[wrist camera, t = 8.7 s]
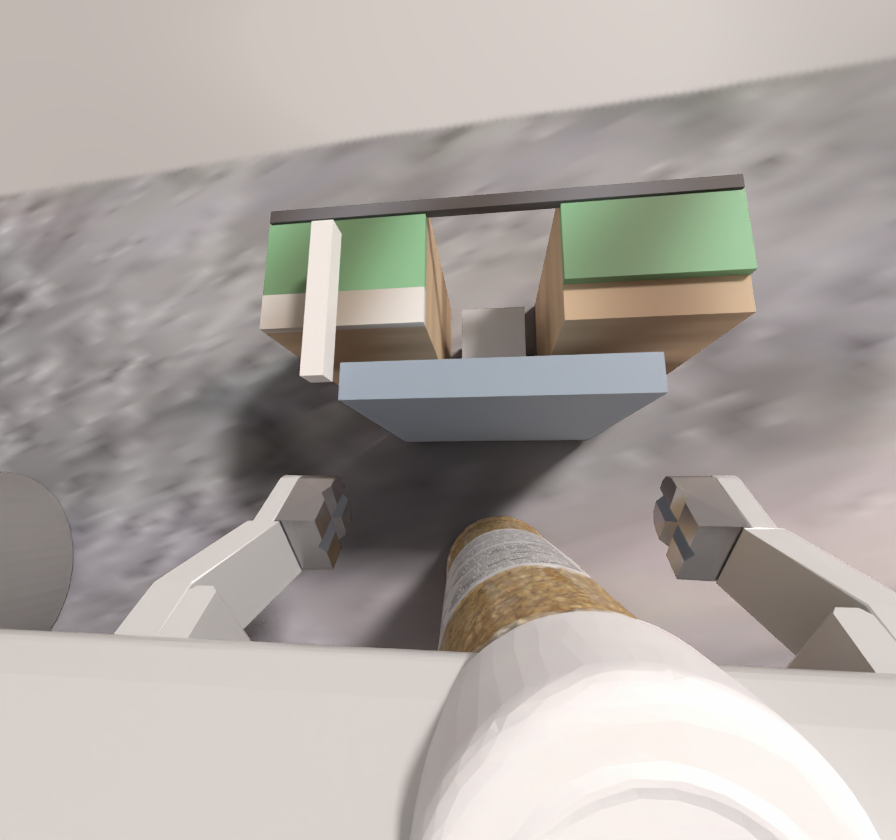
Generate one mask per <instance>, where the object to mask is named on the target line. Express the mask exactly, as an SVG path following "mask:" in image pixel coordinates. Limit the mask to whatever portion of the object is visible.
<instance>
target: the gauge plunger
mask: <svg viewBox="0 0 896 840" xmlns="http://www.w3.org/2000/svg"><path fill="white" fill-rule="evenodd" d="M341 236H342V234H341V232H340V230H339V229H338V227H337V225H336V224H335V222H334V220H320V221H312V222H311V235H310V248H309V261H308V273H307V286H306V299H305V312H304V325H303V338H302V350H301V363H300V376H301V377H302V378H304V379H306V380H307V381H309V382H310V383H312V382H333V366H334V349H335V333H336V317H337V301H338V284H339V268H340V252H341ZM666 393H668V387H667V377H666V367H665V358H664V352H639V353H610V354H580V355H551V356H526V343H525V313H524V307H510V308H489V309H468V310H462V359H433V360H404V361H374V362H345V363H340V375H339V393H338V400H339V401H341V402H342V403H344V404H345V405H347V406H349V407H350V408H352V409H354V410H355V411H357V412H358V413H360V414H362V415H363V416H365V417H366V418H368V419H370V420H371V421H373V422H375V423H376V424H378V425H379V426H381V427H383V428H384V429H386V430H388V431H389V432H391V433H392V434H394V435H396V436H397V437H399V438H401V439H402V440H404V441H405V442H430V441H524V440H589V439H591V438H592V437H594V436H596V435H597V434H599V433H601V432H602V431H604V430H606V429H607V428H609V427H611V426H612V425H614V424H616V423H618V422H619V421H621V420H623V419H624V418H626V417H628V416H629V415H631V414H633V413H634V412H636V411H638V410H639V409H641V408H643V407H644V406H646V405H648V404H649V403H651V402H653V401H654V400H656V399H658V398H659V397H661V396H663V395H664V394H666Z"/></svg>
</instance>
